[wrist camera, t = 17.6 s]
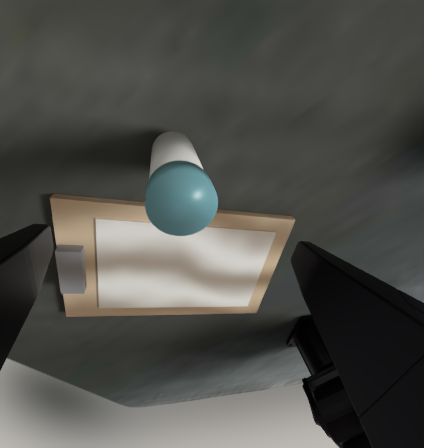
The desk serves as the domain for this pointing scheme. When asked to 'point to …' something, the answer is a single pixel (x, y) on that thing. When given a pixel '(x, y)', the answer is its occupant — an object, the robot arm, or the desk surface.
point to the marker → (178, 187)
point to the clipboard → (161, 260)
